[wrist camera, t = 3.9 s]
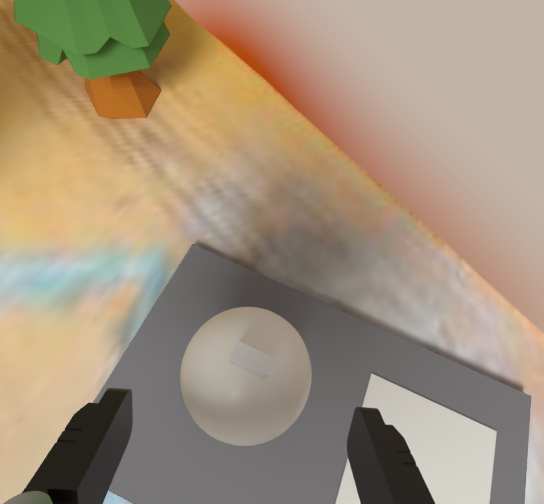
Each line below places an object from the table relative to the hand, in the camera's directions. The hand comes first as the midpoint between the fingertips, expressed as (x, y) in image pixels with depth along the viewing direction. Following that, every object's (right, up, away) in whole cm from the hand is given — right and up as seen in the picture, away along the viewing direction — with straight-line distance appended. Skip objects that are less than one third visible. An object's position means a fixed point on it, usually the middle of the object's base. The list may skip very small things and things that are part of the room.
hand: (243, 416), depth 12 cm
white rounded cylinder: (-1, -2, +8) cm, 8 cm away
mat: (+4, -4, +8) cm, 10 cm away
